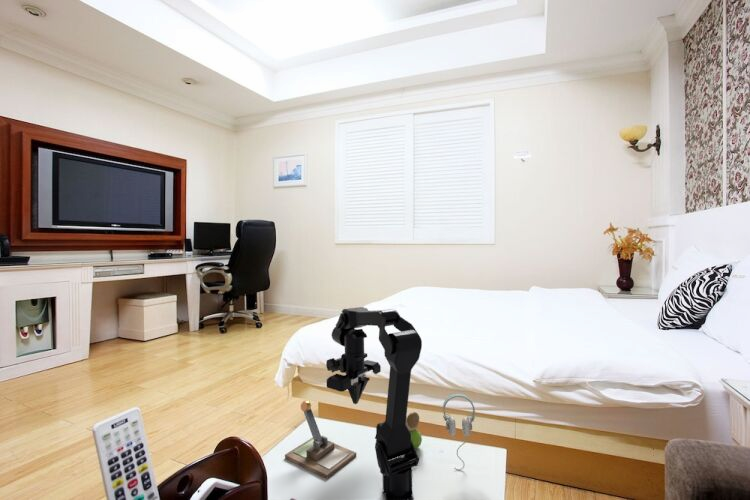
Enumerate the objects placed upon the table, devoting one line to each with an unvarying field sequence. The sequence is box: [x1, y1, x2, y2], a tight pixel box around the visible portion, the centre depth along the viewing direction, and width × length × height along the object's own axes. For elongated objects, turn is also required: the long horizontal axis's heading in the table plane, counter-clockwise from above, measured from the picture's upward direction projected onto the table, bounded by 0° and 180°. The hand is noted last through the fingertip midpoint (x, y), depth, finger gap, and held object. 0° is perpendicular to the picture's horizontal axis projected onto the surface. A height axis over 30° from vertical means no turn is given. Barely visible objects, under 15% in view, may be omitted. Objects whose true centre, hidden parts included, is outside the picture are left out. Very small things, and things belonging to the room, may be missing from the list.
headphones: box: [442, 393, 476, 471], centre depth 95 cm, size 8×4×20 cm, turn 85°
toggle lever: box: [300, 400, 323, 445], centre depth 104 cm, size 3×3×12 cm
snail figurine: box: [406, 411, 423, 450], centre depth 106 cm, size 5×6×12 cm
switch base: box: [284, 435, 357, 480], centre depth 102 cm, size 16×12×5 cm
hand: (355, 403), depth 107 cm, fingers closed
